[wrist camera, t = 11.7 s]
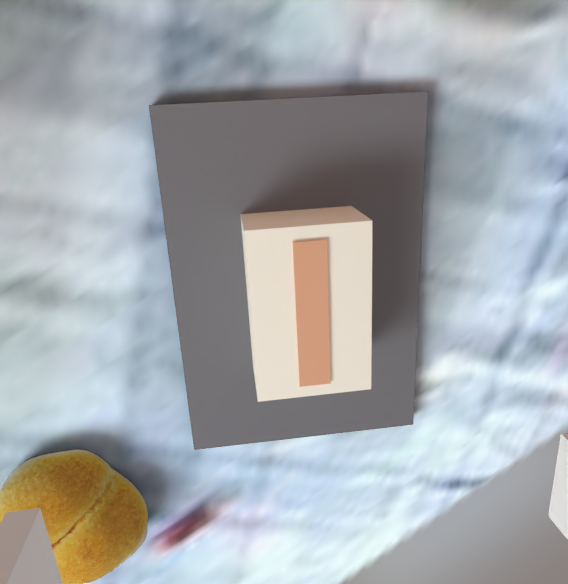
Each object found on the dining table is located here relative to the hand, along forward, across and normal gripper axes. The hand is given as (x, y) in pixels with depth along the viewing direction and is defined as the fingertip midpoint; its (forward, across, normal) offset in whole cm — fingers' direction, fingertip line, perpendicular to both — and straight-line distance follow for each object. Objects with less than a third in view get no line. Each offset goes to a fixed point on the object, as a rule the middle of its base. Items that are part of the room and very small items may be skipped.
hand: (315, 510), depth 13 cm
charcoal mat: (+17, -2, 0) cm, 17 cm away
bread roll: (+18, +13, +14) cm, 26 cm away
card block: (+16, -2, 0) cm, 17 cm away
